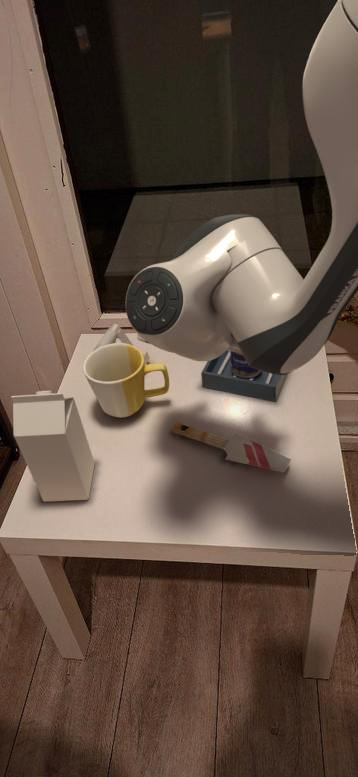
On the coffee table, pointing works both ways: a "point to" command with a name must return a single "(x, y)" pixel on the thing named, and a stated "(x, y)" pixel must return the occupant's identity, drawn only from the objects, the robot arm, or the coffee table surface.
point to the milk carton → (53, 445)
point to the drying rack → (240, 380)
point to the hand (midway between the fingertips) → (227, 341)
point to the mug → (121, 378)
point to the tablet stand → (111, 337)
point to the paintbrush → (238, 448)
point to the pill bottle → (242, 366)
